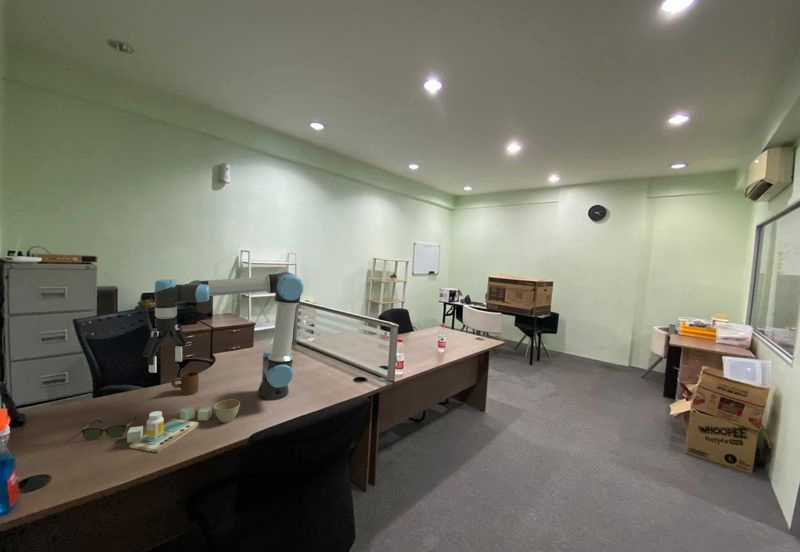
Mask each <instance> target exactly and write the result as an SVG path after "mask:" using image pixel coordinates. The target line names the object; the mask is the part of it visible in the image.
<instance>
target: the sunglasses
mask: <svg viewBox="0 0 800 552" xmlns="http://www.w3.org/2000/svg"><path fill="white" fill-rule="evenodd" d="M136 419H137V416H135V417H134V418H133V419H132V421H131V422H130V423H128V424H116V425H113V426H112V425H111V426H110V427H108V428H105V429H102V428H100V427H90V426H91V425H93V424H95V423H97V422H100V423H103V421H102V420H100V419H98V420H97V419H96V420H94V421H93V422H91V423H90V424H88V425H86V426H85V427H83V428H82V429H80V432H81V433H82V437H83V438H84V440H85V441H86V440H88V441H93V440H94V441H97V440H98V439H99V438H100V437H102V435H103V433H104V432H105V433H106V435H107V436H108V437H109V438H110V439H112V438H113V437H115V438H122V437H123V435H124V434H125V432H126V428H128V427H129V425H131V424H132V423H133V422H134V421H135V420H136ZM87 427H89V428H87ZM96 439H97V440H96ZM113 439H114V438H113Z"/></svg>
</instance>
